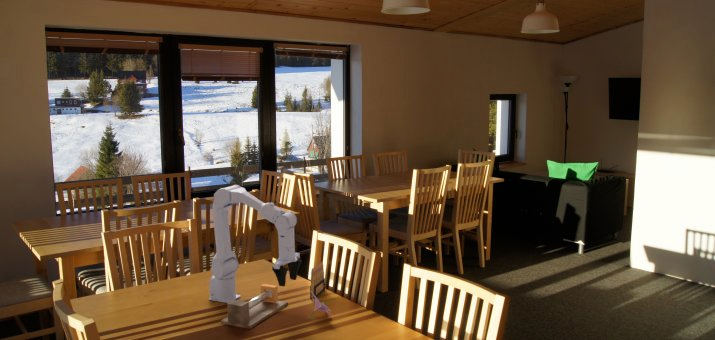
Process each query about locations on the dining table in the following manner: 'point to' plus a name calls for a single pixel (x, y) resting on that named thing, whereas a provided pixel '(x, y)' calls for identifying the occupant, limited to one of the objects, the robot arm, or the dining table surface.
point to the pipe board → (250, 313)
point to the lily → (320, 306)
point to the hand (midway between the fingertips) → (287, 282)
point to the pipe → (260, 298)
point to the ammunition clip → (317, 281)
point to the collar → (274, 292)
